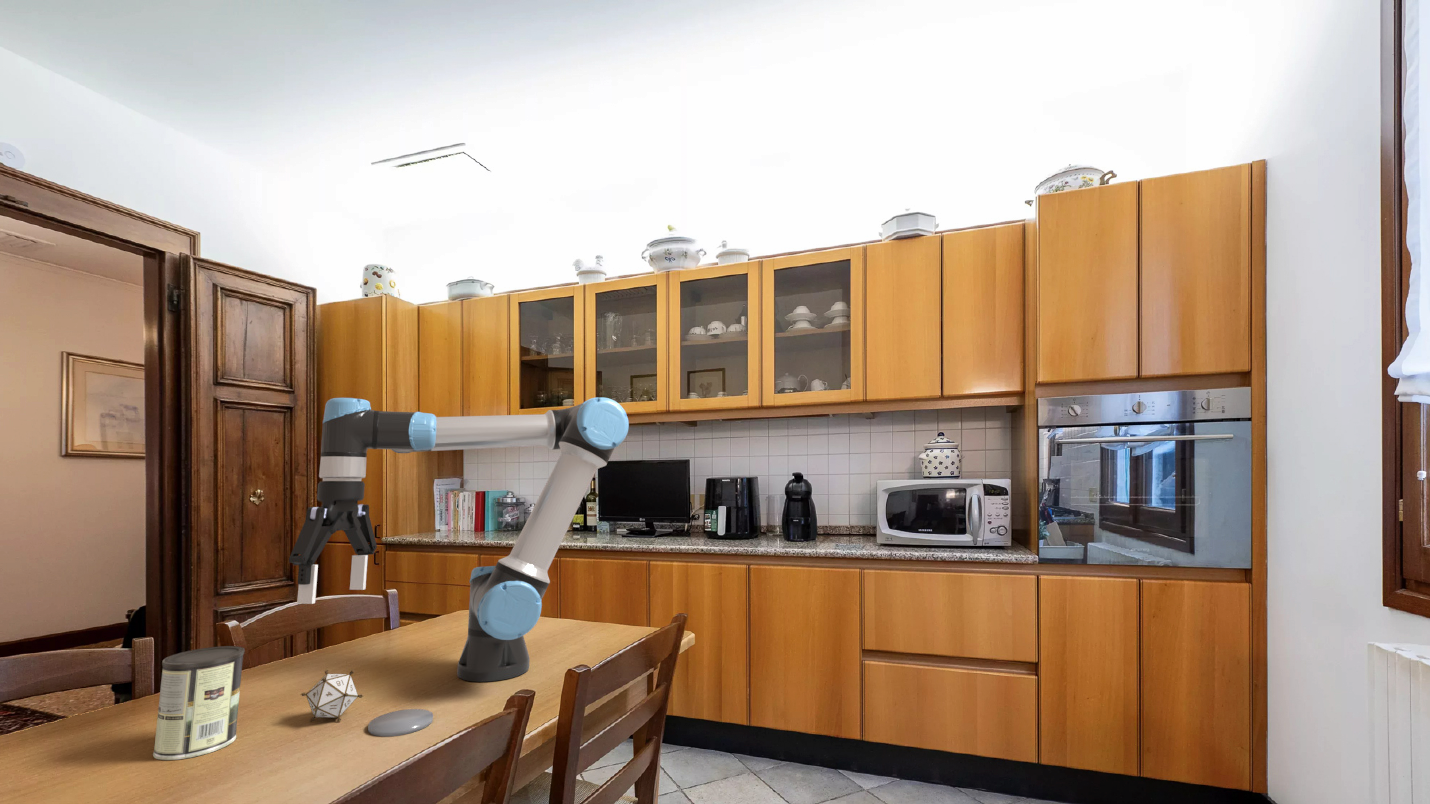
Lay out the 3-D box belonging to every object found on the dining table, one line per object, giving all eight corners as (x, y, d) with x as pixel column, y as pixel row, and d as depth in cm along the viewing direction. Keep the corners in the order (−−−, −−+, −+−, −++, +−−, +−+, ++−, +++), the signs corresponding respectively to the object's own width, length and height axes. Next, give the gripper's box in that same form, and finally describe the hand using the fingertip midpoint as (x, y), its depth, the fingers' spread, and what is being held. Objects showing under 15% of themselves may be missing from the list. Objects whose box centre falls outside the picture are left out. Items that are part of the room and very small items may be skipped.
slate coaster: (443, 714, 110) (443, 709, 110) (413, 737, 100) (414, 731, 101) (389, 713, 111) (390, 708, 111) (355, 735, 101) (355, 730, 101)
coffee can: (196, 731, 103) (205, 644, 104) (252, 734, 102) (260, 646, 103) (132, 759, 92) (143, 662, 94) (194, 762, 91) (204, 664, 93)
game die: (326, 745, 106) (306, 710, 101) (305, 717, 110) (285, 682, 105) (377, 707, 112) (360, 672, 107) (355, 682, 117) (338, 647, 112)
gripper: (365, 480, 127) (358, 584, 125) (270, 480, 103) (259, 609, 100) (399, 480, 127) (393, 584, 124) (312, 479, 102) (302, 610, 99)
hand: (333, 596), depth 112 cm, fingers open, 13 cm apart
